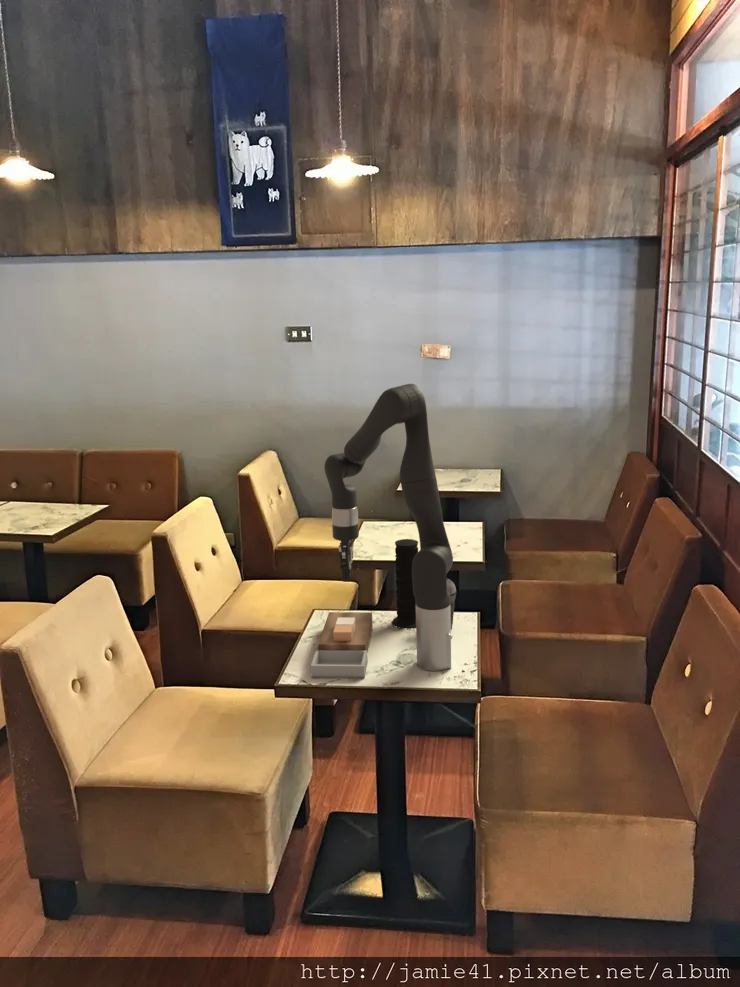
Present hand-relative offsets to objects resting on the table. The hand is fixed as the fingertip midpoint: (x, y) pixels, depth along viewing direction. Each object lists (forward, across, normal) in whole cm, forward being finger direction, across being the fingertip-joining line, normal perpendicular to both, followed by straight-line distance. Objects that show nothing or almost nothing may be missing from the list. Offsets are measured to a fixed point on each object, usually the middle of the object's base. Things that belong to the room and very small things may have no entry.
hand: (347, 578), depth 238 cm
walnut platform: (+17, -8, 0) cm, 19 cm away
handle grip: (+17, +8, -17) cm, 26 cm away
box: (+17, -24, 0) cm, 30 cm away
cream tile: (+12, -8, 0) cm, 15 cm away
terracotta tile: (+12, -14, 0) cm, 19 cm away
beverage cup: (+17, +4, -28) cm, 33 cm away
